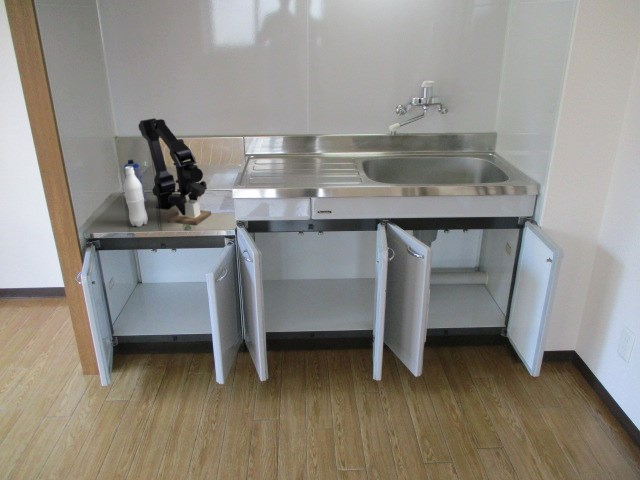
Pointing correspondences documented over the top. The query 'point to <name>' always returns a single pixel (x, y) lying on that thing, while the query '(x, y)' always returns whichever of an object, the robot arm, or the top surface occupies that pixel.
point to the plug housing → (191, 208)
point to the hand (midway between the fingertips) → (189, 211)
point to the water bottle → (134, 198)
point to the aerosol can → (136, 174)
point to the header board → (189, 218)
